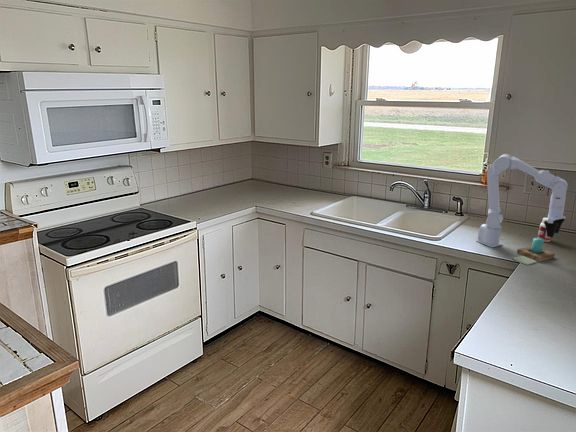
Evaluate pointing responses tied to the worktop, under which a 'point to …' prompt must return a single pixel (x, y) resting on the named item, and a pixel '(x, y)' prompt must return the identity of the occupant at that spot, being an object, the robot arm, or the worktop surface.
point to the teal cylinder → (537, 245)
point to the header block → (537, 257)
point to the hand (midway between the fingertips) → (552, 234)
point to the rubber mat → (525, 260)
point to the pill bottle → (543, 231)
